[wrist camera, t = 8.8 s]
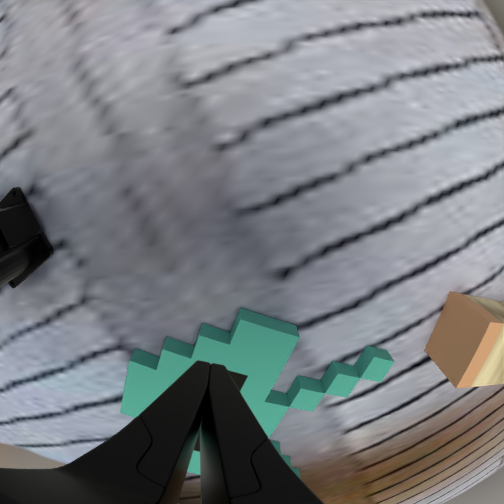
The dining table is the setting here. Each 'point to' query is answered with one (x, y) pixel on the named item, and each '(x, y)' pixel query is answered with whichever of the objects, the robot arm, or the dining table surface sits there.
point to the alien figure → (247, 371)
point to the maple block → (469, 341)
